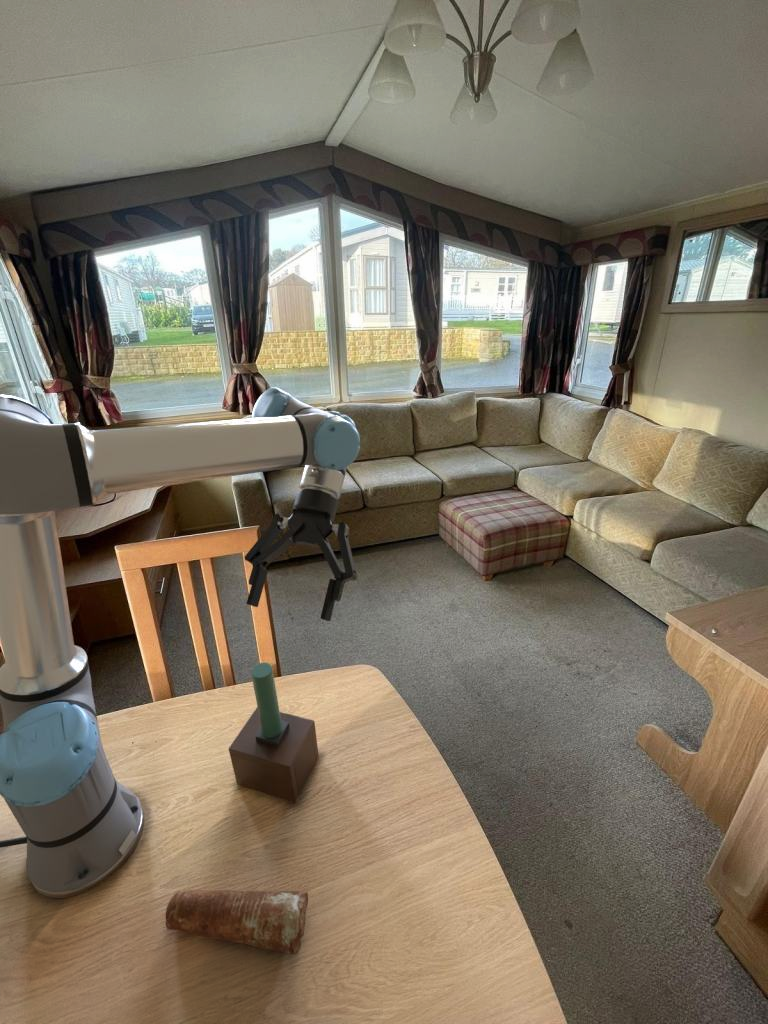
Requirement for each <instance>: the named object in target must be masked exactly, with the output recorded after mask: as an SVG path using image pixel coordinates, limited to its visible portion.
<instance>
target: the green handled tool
mask: <svg viewBox="0 0 768 1024" xmlns="http://www.w3.org/2000/svg"><path fill="white" fill-rule="evenodd" d="M250 675H251V680H252V687H253V691H254V696H255V701H256V708H257V707H258V712H259V717H260V722H261V729H260V730H259V732H258V733H257V735H256V736H255V737H256V741H259V742H263V743H266V744H270V745H273V746H277V747H278V746H279V744H280V742H281V740H282V739H283V737H284V735H285V734H286V732H287V730H288V729H289V723H287V722H283V721H281V717H280V712H281V711H280V706H279V700H278V699H279V698H278V694H277V688H276V681H275V676H274V669H273V666H272V664H270V663H269V662H260V663H257V664H255V665H254V666H253V667H252V668H251V670H250Z"/></svg>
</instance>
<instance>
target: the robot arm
mask: <svg viewBox="0 0 768 1024" xmlns="http://www.w3.org/2000/svg"><path fill="white" fill-rule="evenodd" d="M360 449H361V437H360V434H359V431H358V429H357V426H356V424H355V422H354V420H353V419H352V418H351V417H349V416H348V415H346V414H342V413H341V412H339V411H335V410H327V411H325V410H322V409H320V408H317V407H314V406H312V405H310V404H307V403H305V402H302V401H300V400H299V399H297V398H295V397H293V396H292V395H291V394H290V393H289V392H286V391H284V390H282V389H281V388H279V387H274V386H273V387H270V388H267V389H266V390H264V392H263V393H262V394H260V396H259V397H258V399H257V400H256V402H255V404H254V406H253V408H252V413H251V418H240V419H228V420H227V419H226V420H213V421H202V422H201V421H200V422H187V423H176V424H174V423H173V424H164V425H163V424H162V425H150V426H139V427H138V426H137V427H125V428H124V427H123V428H111V429H98V430H91V429H89V428H87V427H86V426H84V425H82V424H81V423H80V422H74V423H54V422H53V420H51V418H50V416H49V415H48V414H46V413H45V412H44V411H43V410H42V409H40V408H39V407H38V406H37V405H35V404H33V403H31V402H30V401H28V400H25V399H23V398H20V397H17V396H13V395H7V394H0V643H1V648H2V652H3V657H4V661H5V662H4V663H3V664H2V665H1V666H0V709H1V712H2V720H3V731H2V733H0V796H1V798H3V800H4V801H5V803H6V805H7V807H8V808H9V810H10V811H11V814H12V815H13V817H14V818H15V820H16V822H17V823H18V825H19V827H20V829H21V830H22V832H23V834H24V835H25V836H22V837H15V838H11V839H4V840H0V849H1V848H8V847H13V846H18V845H24V844H25V845H26V859H25V865H26V871H27V875H28V879H29V880H30V882H31V884H32V885H33V887H34V888H35V890H36V892H38V893H40V894H41V895H42V896H44V897H48V898H52V899H65V898H66V899H67V898H72V897H76V896H79V895H82V894H84V893H86V892H88V891H90V890H92V889H94V888H96V887H98V886H99V885H101V884H102V883H104V882H105V881H107V880H108V879H109V878H110V877H112V876H113V875H114V874H115V873H116V872H117V871H118V870H120V868H121V867H122V866H123V865H124V864H125V863H126V862H127V860H128V859H129V858H130V857H131V856H132V853H133V852H134V850H135V849H136V847H137V845H138V844H139V841H140V839H141V836H142V834H143V830H144V825H145V813H144V810H143V807H142V804H141V802H140V799H139V798H138V796H137V795H136V794H135V793H134V792H133V791H132V790H130V789H129V788H128V787H126V786H125V785H123V784H122V783H121V782H119V781H118V780H116V778H115V775H114V773H113V770H112V768H111V765H110V762H109V760H108V758H107V755H106V752H105V749H104V746H103V742H102V741H103V740H102V737H101V732H100V726H99V722H98V716H97V711H96V704H95V699H94V694H93V689H92V688H93V687H92V686H93V685H92V677H91V672H90V666H89V660H88V655H87V653H86V651H85V649H83V648H82V647H81V646H79V645H75V641H74V635H73V628H72V620H71V615H70V607H69V600H68V594H67V587H66V580H65V579H66V578H65V573H64V565H63V560H62V558H63V557H62V552H61V545H60V538H59V532H58V526H57V518H56V512H57V511H63V510H70V509H71V510H72V509H77V508H83V507H90V506H95V505H97V504H98V502H100V500H101V499H102V498H103V497H104V496H105V495H112V494H119V493H125V492H132V491H139V490H147V489H153V488H160V487H168V486H174V485H175V486H176V485H180V484H181V485H182V484H187V483H194V482H201V481H202V482H203V481H209V480H215V479H221V478H222V479H223V478H229V477H236V476H242V475H250V474H251V475H252V474H256V473H257V474H258V473H264V472H271V471H276V470H284V469H292V468H299V467H303V472H302V475H301V479H300V482H299V486H298V488H299V490H298V491H297V492H296V496H295V500H294V502H293V506H292V513H291V515H290V517H286V516H283V515H281V514H280V513H275V514H274V515H273V518H272V520H271V523H270V524H269V526H268V527H267V528H266V530H265V531H263V533H262V534H261V536H259V538H258V539H257V540H256V542H255V543H254V544H253V545H252V546H251V548H250V549H249V550H248V552H247V553H246V554H245V555H244V560H245V561H246V562H247V563H249V564H251V566H252V569H251V572H250V575H249V579H248V585H250V590H249V594H248V596H247V600H246V604H245V605H249V606H251V607H255V608H258V607H259V604H260V600H261V596H262V593H263V590H264V587H265V583H266V579H267V576H268V572H269V570H267V569H266V567H267V566H268V565H270V564H271V563H272V562H274V561H275V560H276V559H277V558H279V557H280V556H281V555H282V554H283V553H285V552H286V551H287V550H288V549H289V548H290V547H293V546H295V545H296V544H298V545H300V546H310V547H313V548H316V547H319V549H320V550H321V553H322V554H323V556H324V558H325V561H326V563H327V564H328V566H329V568H330V571H331V573H332V575H333V578H329V581H328V585H327V589H326V593H325V597H324V600H323V606H322V610H321V614H320V618H319V619H320V620H324V621H326V622H331V619H332V615H333V611H334V607H335V603H336V602H340V601H341V599H342V596H343V592H344V591H343V590H344V588H345V584H346V583H348V582H350V581H356V580H358V574H357V569H356V567H355V562H354V558H353V553H352V549H351V545H350V540H349V536H350V527H349V526H348V525H347V524H346V523H345V522H344V521H341V522H339V523H334V521H335V518H336V513H337V510H338V506H339V499H340V498H341V494H342V490H343V486H344V481H345V477H346V473H347V469H348V467H350V466H351V465H352V464H353V463H354V462H355V460H356V459H357V457H358V456H359V452H360ZM287 526H288V530H286V531H285V532H284V533H282V531H283V529H284V530H285V529H286V528H287ZM281 533H282V535H281V537H280V538H279V539H278V540H276V539H277V538H278V537H279V536H280V534H281ZM333 533H334V534H335V537H337V542H338V546H339V550H340V554H341V559H342V563H343V567H344V570H343V569H342V567H341V564H340V563H339V561H338V559H337V557H336V555H335V553H334V551H333V549H332V546H331V544H330V543H329V540H328V538H329V537H330V536H331V534H333ZM274 541H275V542H274Z"/></svg>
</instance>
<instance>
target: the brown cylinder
mask: <svg viewBox="0 0 768 1024" xmlns="http://www.w3.org/2000/svg"><path fill="white" fill-rule="evenodd" d="M308 903H309V893H308V892H307V891H297V890H251V889H247V890H246V889H245V890H244V889H189V890H178V891H177V892H176V893H174V894H173V896H172V897H171V898H170V900H169V901H168V904H167V906H166V909H165V926H166V929H167V930H171V931H177V932H185V933H190V934H194V935H197V936H201V937H206V938H211V939H217V940H223V941H227V942H232V943H238V944H239V943H240V944H245V945H248V946H252V947H256V948H260V949H266V950H269V951H275V952H279V953H284V954H289V955H297V954H298V953H299V952H300V950H301V946H302V945H301V944H302V943H301V939H302V938H303V937H304V935H305V926H306V913H307V907H308Z"/></svg>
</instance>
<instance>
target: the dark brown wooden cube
mask: <svg viewBox="0 0 768 1024" xmlns="http://www.w3.org/2000/svg"><path fill="white" fill-rule="evenodd" d="M280 717H281V721H283V722H287V723H289V729H288V730H287V732H286V734H285V735H284V737H283V739H282V740H281V742H280V744H279V746H278V747H277V746H273V745H270V744H266V743H263V742H259V741H256V737H255V736H256V735H257V733H258V732H259V730H260V729H261V722H260V717H259V712H258V707H257V706H256V708H255V709H254V710H253V712H252V714H251V715H250V716H249V718H248V719H247V721H246V722H245V724H244V725H243V726H242V728H241V730H240V731H239V733H238V734H237V735H236V736H235V739H234V740H233V742H232V743H231V744H230V746H229V747H228V753H229V757H230V760H231V766H232V769H233V774H234V779H235V781H236V785H237V786H239V787H243V788H245V789H249V790H252V791H256V792H258V793H261V794H264V795H267V796H271V797H275V798H276V799H280V800H284V801H287V802H290V803H292V804H296V803H297V801H298V799H299V798H300V796H301V793H302V791H303V790H304V788H305V785H306V783H307V781H308V779H309V777H310V775H311V773H312V772H313V768H314V766H316V762H317V761H318V759H319V757H320V756H319V747H318V740H317V731H316V723H315V720H314V719H309V718H305V717H302V716H298V715H294V714H290V713H287V712H283V711H280Z"/></svg>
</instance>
